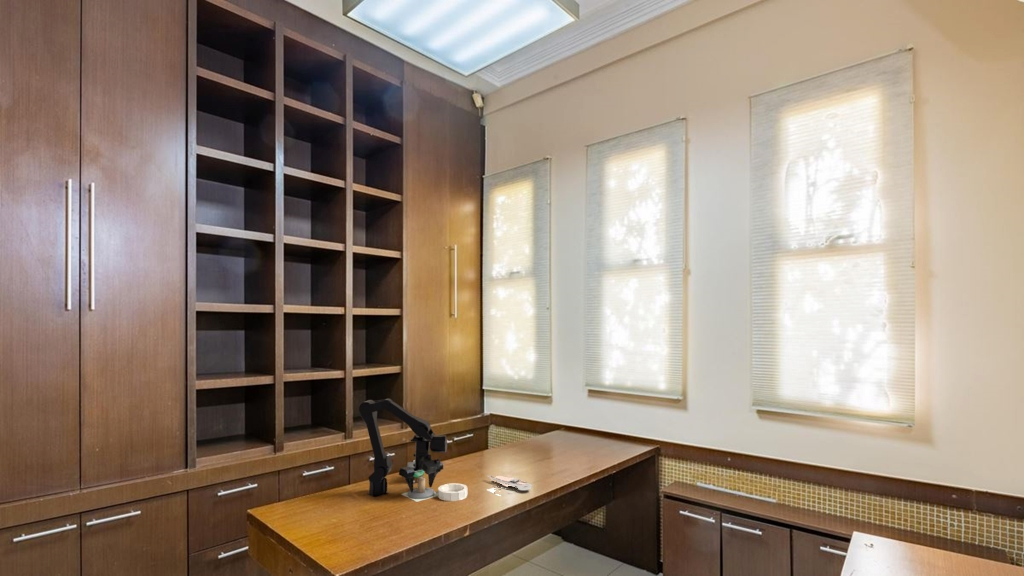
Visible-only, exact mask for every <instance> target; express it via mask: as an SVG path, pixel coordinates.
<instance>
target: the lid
mask: <svg viewBox="0 0 1024 576" xmlns="http://www.w3.org/2000/svg"><path fill="white" fill-rule="evenodd" d="M407 492H408V497H410V498H413V499H425V500H427V499H426V498H429V499H431V498H430V497H432V496H433V495H434V492H435V489H433V488H432V487H431V488H430V487H426V477H420V478H418V483H417V487H414V488H413V492H411V491H410V489H409V490H408V491H407ZM408 497H407V498H408ZM410 498H409V499H410ZM432 498H433V497H432Z"/></svg>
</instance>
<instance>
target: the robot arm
mask: <svg viewBox="0 0 1024 576" xmlns="http://www.w3.org/2000/svg"><path fill="white" fill-rule="evenodd" d="M382 410H385V411H387V412H388V413H390V414H392V415H393V416H395V417H396V418H398V419H399V420H400V421H402V422H403V423H405V424H406V425H407V426H408V427H409V428H410V430H411V431H412V432H413V433H414V434H415V435H414V436H413V437H412V438H411V439H410V442H415V452H414V453H413V457H414V459H415V463H414V464H413V466H414V467H415V468H410V467H407V466H404V467H403V466H402V467H400V469H399V470H398V476H400V477H402V478H404V480H405V482H406V484H407V487H408V488H409V490H410V491H411V492H413V489H414V484H413V480H414V478H415V477H414V474H415V473H416V472H420V471H424V474H426V475H428V488H431V489H432V486H433V483H434V482H435V478H436V477H437V475H438V474H439V473H441V471H442V470H444V463H443V462H442V461H441V460H440V459H439V458H437V459H432V455H431V454H430V451H431V452H432V453H447V451H448V441H447V435H443V434H442V435H436V434H435V432H434V431H433V430H432V427H431V423H430V422H429V421H428V420H426V419H423V418H422V417H418V416H415V415H414V414H412V413H411V412H409V411H407V409H405V408H403V407H402V406H400V405H399V404H398V403H396V402H395V401H394V400H392V398H386V399H385V398H384V399H379V400H373V399H368V400H366V401H363V402H362V403H360V404H359V407H358V412H359V414H360V417H361V419H362V420H363V421H364V424H365V426H366V428H367V433H368V437H369V441H370V445H371V448H372V449H371V450H372V452H373V472H372V473H371V474H370V475H369V476H368V480H369V481H368V482H369V486H368V487H369V488H368V489H369V491H368V492H367V493H366V494H367V495H369V496H371V497H373V498H377V497H381V496H385V495H388V494H389V492H388V481H387V480H388V479H387V478H386V477H387V476H388V475H389V473H391V471H392V469H393V464H394V463H393V461H392V455H391V454H389V455H387V453H386V452H385V448H384V444H383V443H384V442H383V441H382V437H381V432H380V428H379V423H378V412H379V411H382Z"/></svg>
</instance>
